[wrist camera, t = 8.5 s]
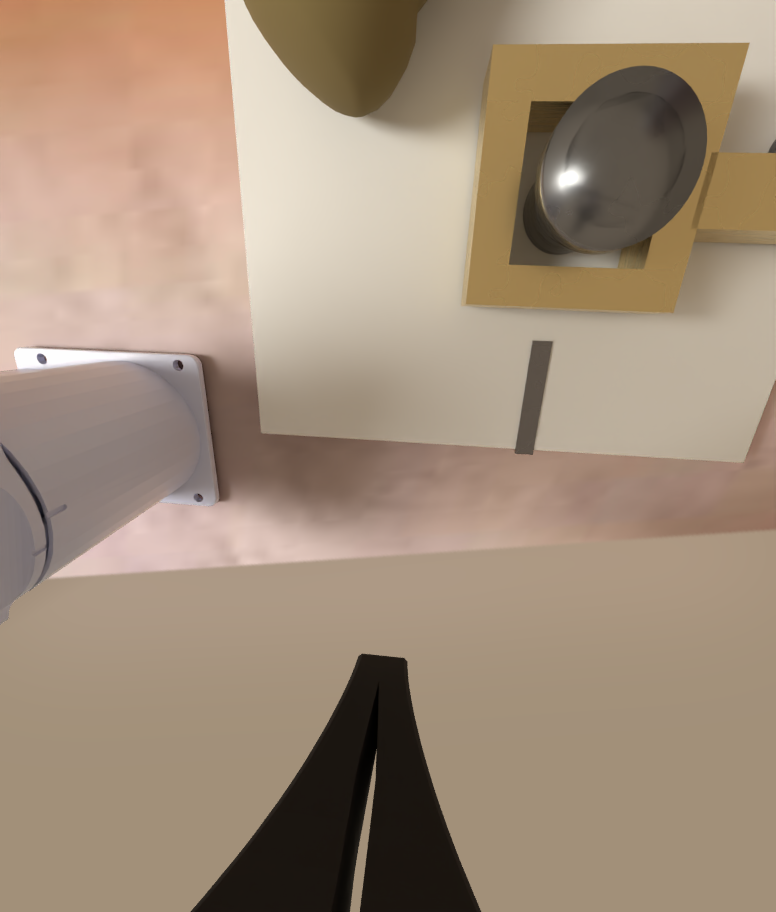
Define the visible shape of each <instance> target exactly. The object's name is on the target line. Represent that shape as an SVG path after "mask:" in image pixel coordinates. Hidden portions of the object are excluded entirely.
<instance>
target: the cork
mask: <svg viewBox="0 0 776 912" xmlns="http://www.w3.org/2000/svg"><path fill="white" fill-rule="evenodd" d="M426 2H427V0H244V3H245V5H246V7H247V9H248V11H249V13H250V15H251V18H252V20H253V21H254V23H255V24H256V26H257V28H258V29H259V31H260V32H261V34H262V35H263V37H264V39H265V40H266V41H267V43H268V44H269V46H270V47H271V48H272V50H273V51H274V52H275V54H276V55H277V56H278V58H279V59H280V60H281V62H282V63H283V64H284V65H285V67H286V68H287V69H288V70H289V71H290V72H291V74H292V75H293V76H294V77H295V78H296V79H297V80H298V81H299V82H300V83H301V84H302V85H303V86H304V87H305V88H306V89H307V90H309V91H310V92H311V93H312V94H313V95H314V96H316V97H317V98H318V99H319V100H320V101H321V102H323V103H324V104H325V105H327V106H328V107H330V108H331V109H333V110H334V111H336V112H338V113H341V114H343V115H346V116H350V117H355V118H356V117H363V116H365V115H367V114H370V113H372V112H374V111H376V110H378V109H379V108H380V107H381V106H382V105H383V104H384V103H385V102H386V101H387V100H388V99H389V98H390V97H391V95H392V93H393V92H394V90H395V88H396V86H397V85H398V83H399V81H400V80H401V78H402V76H403V74H404V72H405V70H406V69H407V66H408V63H409V60H410V57H411V55H412V52H413V49H414V46H415V43H416V28H417V14H418V12H419V11H420V10H421V8H422V7H423V6H424V4H425V3H426Z"/></svg>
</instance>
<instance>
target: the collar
mask: <svg viewBox="0 0 776 912" xmlns="http://www.w3.org/2000/svg"><path fill="white" fill-rule="evenodd" d="M749 44H750V43H627V44H493V47H492V51H491V55H490V59H489V63H488V67H487V71H486V75H485V79H484V83H483V91H482V101H481V111H480V121H479V131H478V141H477V151H476V161H475V171H474V180H473V190H472V200H471V210H470V220H469V230H468V240H467V250H466V260H465V269H464V279H463V289H462V299H461V306H471V307H495V308H519V309H542V310H566V311H590V312H613V313H637V314H651V313H674V309H675V306H676V302H677V299H678V295H679V291H680V288H681V284H682V281H683V277H684V274H685V270H686V267H687V263H688V260H689V256H690V253H691V249H692V246H693V242H711V243H746V244H776V153H728V152H719V150H720V147H721V143H722V139H723V136H724V132H725V129H726V125H727V122H728V118H729V115H730V111H731V108H732V104H733V101H734V97H735V94H736V90H737V86H738V83H739V79H740V76H741V72H742V69H743V65H744V62H745V58H746V55H747V51H748V48H749ZM643 65H644V66H655V67H659V68H664V69H666V70H669V71H671V72H673V73H675V74H676V75H678V76H679V77H681V78H682V79H684V80H685V81H686V82H687V83H688V84H689V85H690V86H691V88H692V89H693V91H694V92H695V93H696V95H697V97H698V99H699V101H700V103H701V105H702V108H703V111H704V114H705V119H706V125H707V148H706V155H705V160H704V164H703V167H702V170H701V174H700V177H699V179H698V181H697V183H696V186H695V188H694V190H693V191H692V193H691V195H690V197H689V198H688V200H687V201H686V203H685V204H684V205H683V207H682V208H681V210H680V211H679V212H678V213H677V214H676V215H675V216H674V218H673V219H672V220H671V221H669V222H668V223H667V224H666V225H665V226H664V227H663V228H662V229H660V230H659V231H658V232H656V233H655V234H653V235H652V236H650V237H648V238H647V239H645V240H643V241H640V242H638V243H636V244H634V245H631V246H628V247H625V248H622V250H621V254H620V258H619V263H618V267H617V268H593V267H563V266H534V265H509V259H510V252H511V245H512V238H513V230H514V223H515V216H516V208H517V201H518V194H519V186H520V179H521V172H522V165H523V157H524V150H525V143H526V135H527V132H553V130H554V129H555V127H556V126H557V124H558V123H559V121H560V120H561V118H562V117H563V116H564V114H565V113H566V111H567V110H568V108H569V107H570V106H571V105H572V103H573V102H574V101H575V100H576V99H577V98H578V97H579V96H580V95H581V94H582V93H583V92H584V91H585V90H586V89H587V88H588V87H590V86H591V85H592V84H594V83H595V82H596V81H598V80H599V79H601V78H603V77H605V76H607V75H608V74H610V73H613V72H615V71H618V70H620V69H624V68H628V67H632V66H643Z"/></svg>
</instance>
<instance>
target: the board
mask: <svg viewBox="0 0 776 912" xmlns="http://www.w3.org/2000/svg"><path fill="white" fill-rule="evenodd" d="M225 11H226V22H227V34H228V46H229V58H230V70H231V82H232V94H233V106H234V118H235V129H236V141H237V153H238V165H239V177H240V189H241V201H242V213H243V225H244V236H245V248H246V260H247V272H248V284H249V296H250V308H251V320H252V332H253V343H254V355H255V367H256V379H257V391H258V403H259V415H260V427H261V433H265V434H281V435H297V436H313V437H330V438H346V439H362V440H378V441H395V442H411V443H427V444H443V445H460V446H476V447H492V448H508V449H515V447H516V441H517V434H518V428H519V422H520V416H521V409H522V403H523V397H524V391H525V384H526V378H527V372H528V365H529V359H530V353H531V347H532V340H533V341H553V343H552V348H551V354H550V360H549V365H548V371H547V377H546V382H545V388H544V394H543V399H542V405H541V410H540V416H539V422H538V427H537V433H536V439H535V444H534V450H541V451H557V452H573V453H590V454H606V455H622V456H638V457H654V458H671V459H687V460H703V461H719V462H736V463H744V461H745V458H746V455H747V453H748V450H749V448H750V445H751V442H752V440H753V437H754V435H755V432H756V429H757V427H758V424H759V422H760V419H761V416H762V414H763V411H764V409H765V406H766V403H767V401H768V398H769V396H770V393H771V390H772V388H773V385H774V383H775V380H776V244H746V243H711V242H693V246H692V249H691V253H690V256H689V260H688V263H687V267H686V270H685V274H684V277H683V281H682V284H681V288H680V291H679V295H678V299H677V302H676V306H675V309H674V313H651V314H637V313H613V312H590V311H566V310H542V309H519V308H495V307H471V306H461V299H462V289H463V279H464V269H465V260H466V250H467V240H468V230H469V220H470V210H471V200H472V190H473V180H474V171H475V161H476V151H477V141H478V131H479V121H480V111H481V101H482V91H483V83H484V79H485V75H486V71H487V67H488V63H489V59H490V55H491V51H492V47H493V44H627V43H750V44H749V48H748V51H747V55H746V58H745V62H744V65H743V69H742V72H741V76H740V79H739V83H738V86H737V90H736V94H735V97H734V101H733V104H732V108H731V111H730V115H729V118H728V122H727V125H726V129H725V132H724V136H723V139H722V143H721V147H720V150H719V152H728V153H768V151H769V149H770V147H771V145H772V144H773V142H774V141H775V140H776V0H427V2H426V3H425V4H424V6H423V7H422V8H421V10H420V11H419V12H418V14H417V28H416V43H415V46H414V49H413V52H412V55H411V57H410V60H409V63H408V66H407V69H406V70H405V72H404V74H403V76H402V78H401V80H400V81H399V83H398V85H397V86H396V88H395V90H394V92H393V93H392V95H391V97H390V98H389V99H388V100H387V101H386V102H385V103H384V104H383V105H382V106H381V107H380V108H379V109H378V110H376V111H374V112H372V113H370V114H367V115H365V116H363V117H356V118H355V117H350V116H346V115H343V114H341V113H338V112H336V111H334V110H333V109H331V108H330V107H328V106H327V105H325V104H324V103H323V102H321V101H320V100H319V99H318V98H317V97H316V96H314V95H313V94H312V93H311V92H310V91H309V90H307V89H306V88H305V87H304V86H303V85H302V84H301V83H300V82H299V81H298V80H297V79H296V78H295V77H294V76H293V75H292V74H291V72H290V71H289V70H288V69H287V68H286V67H285V65H284V64H283V63H282V62H281V60H280V59H279V58H278V56H277V55H276V54H275V52H274V51H273V50H272V48H271V47H270V46H269V44H268V43H267V41H266V40H265V39H264V37H263V35H262V34H261V32H260V31H259V29H258V28H257V26H256V24H255V23H254V21H253V20H252V18H251V15H250V13H249V11H248V9H247V7H246V5H245V3H244V0H225ZM551 133H552V132H527V135H526V143H525V150H524V157H523V165H522V172H521V179H520V186H519V194H518V201H517V208H516V216H515V223H514V230H513V238H512V245H511V252H510V259H509V265H534V266H563V267H593V268H617V267H618V263H619V258H620V254H621V250H622V249H620V250H616V251H613V252H610V253H605V254H593V255H592V254H583V253H579V252H575V251H574V252H571V253H568V254H563V255H553V254H548V253H545V252H543V251H541V250H539V249H538V248H536V247H535V246H534V245H533V244H532V242H531V241H530V240H529V238H528V236H527V234H526V232H525V229H524V224H523V208H524V203H525V200H526V197H527V195H528V192H529V190H530V189H531V187H532V185H533V184H534V183H535V180H536V172H537V167H538V163H539V160H540V157H541V153H542V151H543V149H544V147H545V144H546V142H547V140H548V139H549V137H550V135H551Z"/></svg>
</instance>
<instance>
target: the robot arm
mask: <svg viewBox="0 0 776 912" xmlns="http://www.w3.org/2000/svg"><path fill="white" fill-rule="evenodd" d="M44 355H45V356H46V358H47V361H46V360H45V358H44ZM14 358H15V361H16V364H17V368H18V369H16V370H7V371H0V624H2V623H3V622H4V621H6V620H7V619H8V614H9V608H10V606H11V605H12V603H13V602H14V601H15V600H16V599H18V598H19V597H21V596H22V595H23V594H25V593H26V592H28V591H29V590H31V589H33V588H34V587H36V586H37V585H38V584H40V583H41V582H43V581H44V580H46V579H47V578H49V577H50V576H52V575H53V574H54V573H56V572H57V571H59V570H60V569H62V568H63V567H65V566H66V565H68V564H69V563H71V562H72V561H73V560H75V559H76V558H78V557H79V556H81V555H82V554H84V553H85V552H87V551H88V550H89V549H91V548H92V547H94V546H95V545H97V544H98V543H100V542H101V541H103V540H104V539H105V538H107V537H108V536H110V535H111V534H113V533H114V532H116V531H117V530H119V529H120V528H122V527H123V526H124V525H126V524H127V523H129V522H130V521H132V520H133V519H135V518H136V517H138V516H139V515H140V514H142V513H143V512H145V511H146V510H148V509H149V508H151V507H152V506H154V505H155V504H156V503H158V502H159V503H172V504H185V505H198V506H213V505H214V504H216V503H217V502H218V500H219V490H218V483H217V475H216V467H215V460H214V452H213V445H212V437H211V429H210V422H209V414H208V407H207V399H206V391H205V384H204V376H203V369H202V364H201V361H200V360H199V358H198V357H196V356H195V355H191V354H170V353H148V352H126V351H105V350H83V349H61V348H40V347H20V348H17V349H16V350H15V352H14ZM179 360H180V361H181V362H182V364H183V369H180V368H179V366H178V361H179ZM198 494H200V495H202V497H203V499H201V498H200V497H199V496H198ZM376 749H377V757H376V781H375V790H374V799H373V808H372V816H371V825H370V833H369V842H368V850H367V858H366V867H365V874H364V883H363V890H362V898H361V907H360V912H481V910H480V908H479V906H478V903H477V901H476V898H475V896H474V894H473V891H472V889H471V887H470V884H469V881H468V879H467V877H466V874H465V872H464V869H463V867H462V865H461V862H460V860H459V857H458V854H457V852H456V849H455V846H454V844H453V842H452V838H451V836H450V833H449V831H448V828H447V825H446V822H445V819H444V816H443V814H442V811H441V808H440V805H439V802H438V799H437V796H436V793H435V790H434V787H433V783H432V780H431V777H430V774H429V771H428V767H427V764H426V760H425V757H424V753H423V750H422V746H421V742H420V738H419V733H418V729H417V725H416V721H415V716H414V712H413V707H412V701H411V695H410V689H409V682H408V670H407V661H406V660H405V659H404V658H398V657H389V656H379V655H370V654H361V655H360V656H359V657H358V659H357V662H356V665H355V668H354V670H353V673H352V675H351V677H350V680H349V682H348V684H347V687H346V688H345V691H344V693H343V695H342V697H341V699H340V701H339V703H338V705H337V707H336V708H335V710H334V712H333V714H332V716H331V718H330V720H329V722H328V724H327V725H326V727H325V729H324V731H323V732H322V734H321V736H320V737H319V739H318V741H317V742H316V744H315V746H314V747H313V749H312V751H311V752H310V754H309V756H308V758H307V759H306V761H305V762H304V764H303V766H302V767H301V769H300V770H299V772H298V773H297V775H296V776H295V778H294V779H293V781H292V782H291V784H290V785H289V787H288V788H287V790H286V791H285V793H284V794H283V795H282V797H281V798H280V800H279V801H278V803H277V804H276V805H275V807H274V808H273V809H272V811H271V812H270V814H269V815H268V816H267V818H266V819H265V820H264V822H263V823H262V824H261V826H260V827H259V829H258V830H257V831H256V833H255V834H254V835H253V836H252V838H251V839H250V840H249V842H248V843H247V844H246V846H245V847H244V848H243V849H242V851H241V852H240V853H239V854H238V856H237V857H236V858H235V859H234V861H233V862H232V863H231V864H230V865H229V867H228V868H227V869H226V870H225V871H224V873H223V874H222V875H221V876H220V877H219V879H218V880H217V881H216V882H215V884H214V885H213V886H212V887H211V889H210V890H209V891H208V892H207V893H206V894H205V896H204V897H203V898H202V899H201V900H200V901H199V903H198V904H197V905H196V906H195V907H194V908H193V910H192V911H191V912H350V906H351V897H352V889H353V880H354V872H355V866H356V860H357V853H358V847H359V841H360V836H361V830H362V825H363V820H364V814H365V809H366V804H367V798H368V793H369V787H370V782H371V776H372V771H373V765H374V760H375V754H376Z"/></svg>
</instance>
